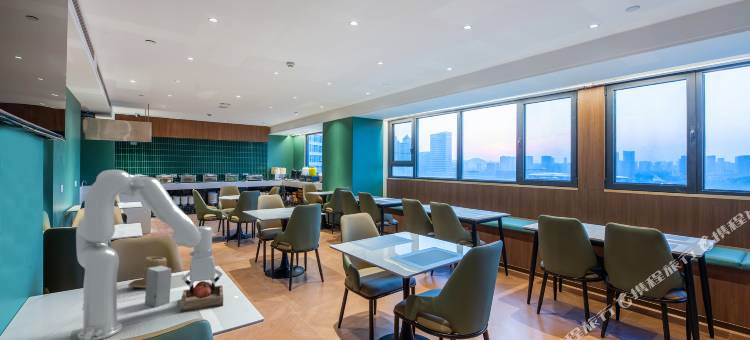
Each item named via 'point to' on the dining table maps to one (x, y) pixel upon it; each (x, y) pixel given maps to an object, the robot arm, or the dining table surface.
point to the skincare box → (158, 286)
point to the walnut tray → (201, 300)
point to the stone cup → (147, 263)
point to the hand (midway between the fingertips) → (202, 293)
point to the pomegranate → (202, 289)
